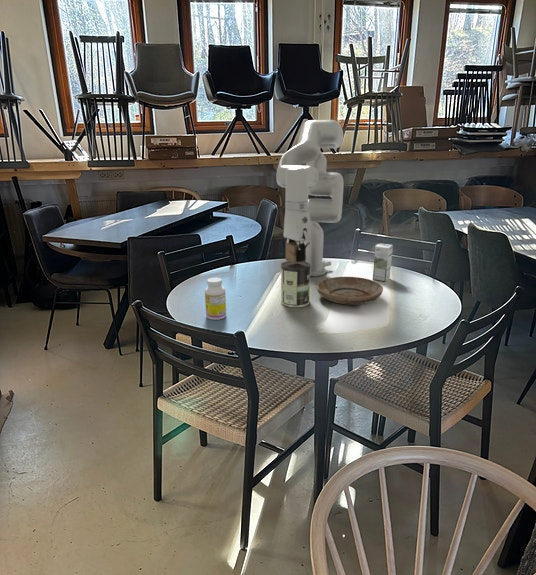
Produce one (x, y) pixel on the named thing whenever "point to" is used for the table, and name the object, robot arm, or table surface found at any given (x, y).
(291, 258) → the walnut block
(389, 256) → the syrup box
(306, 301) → the coffee can
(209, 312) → the supplement bottle
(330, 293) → the wooden plate
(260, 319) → the table surface
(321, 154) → the robot arm
